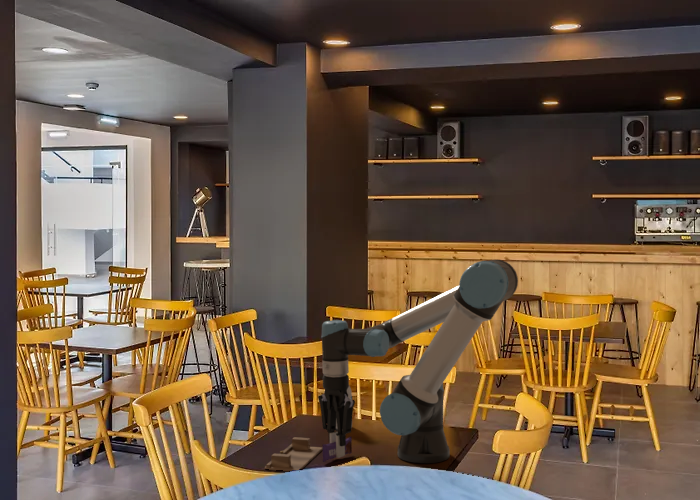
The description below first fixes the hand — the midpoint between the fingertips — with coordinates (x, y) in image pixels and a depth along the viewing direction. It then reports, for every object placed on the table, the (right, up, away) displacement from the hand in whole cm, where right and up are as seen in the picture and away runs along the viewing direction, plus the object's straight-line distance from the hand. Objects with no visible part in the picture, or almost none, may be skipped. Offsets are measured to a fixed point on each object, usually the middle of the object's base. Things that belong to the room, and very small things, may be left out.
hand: (337, 455), depth 222 cm
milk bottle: (+1, 0, +35) cm, 35 cm away
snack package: (0, -1, 0) cm, 1 cm away
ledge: (-12, -1, +1) cm, 12 cm away
